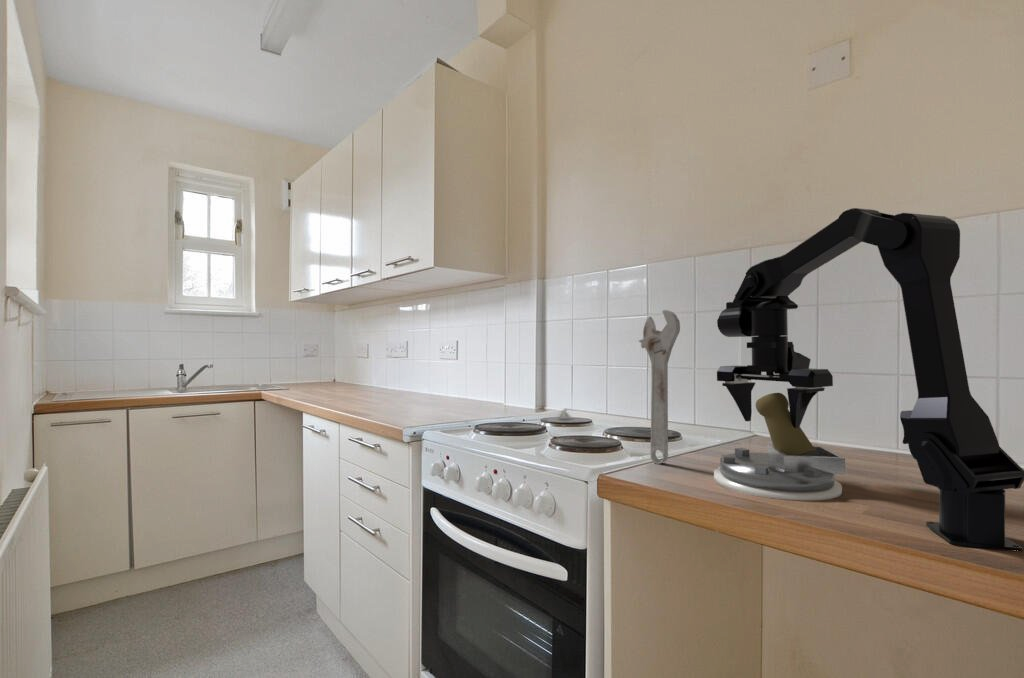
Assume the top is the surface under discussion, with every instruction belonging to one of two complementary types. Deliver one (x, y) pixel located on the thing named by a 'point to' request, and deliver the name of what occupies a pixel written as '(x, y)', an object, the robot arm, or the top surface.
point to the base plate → (777, 494)
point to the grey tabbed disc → (783, 469)
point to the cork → (782, 425)
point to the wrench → (660, 378)
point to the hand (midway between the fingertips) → (770, 424)
